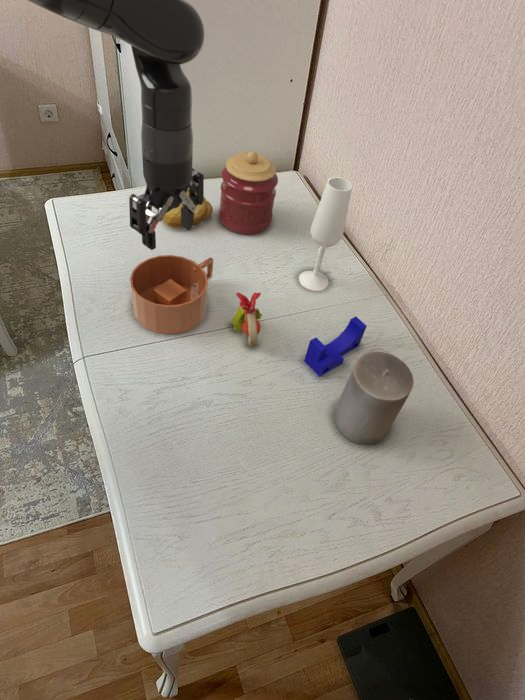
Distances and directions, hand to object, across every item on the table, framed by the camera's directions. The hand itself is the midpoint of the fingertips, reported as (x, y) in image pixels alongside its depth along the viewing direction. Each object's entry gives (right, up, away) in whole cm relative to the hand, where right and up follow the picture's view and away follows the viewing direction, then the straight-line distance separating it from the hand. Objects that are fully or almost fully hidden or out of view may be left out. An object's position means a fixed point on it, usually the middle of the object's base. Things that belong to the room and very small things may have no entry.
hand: (168, 237), depth 88 cm
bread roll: (-2, +11, +33) cm, 35 cm away
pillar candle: (+34, -32, +1) cm, 47 cm away
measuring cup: (-1, -10, +14) cm, 18 cm away
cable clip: (+30, -21, +10) cm, 38 cm away
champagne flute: (+28, -4, +24) cm, 37 cm away
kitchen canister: (+12, +12, +36) cm, 40 cm away
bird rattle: (+14, -17, +11) cm, 24 cm away
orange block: (-2, -11, +13) cm, 17 cm away
